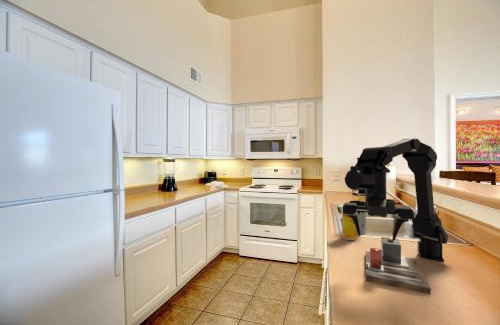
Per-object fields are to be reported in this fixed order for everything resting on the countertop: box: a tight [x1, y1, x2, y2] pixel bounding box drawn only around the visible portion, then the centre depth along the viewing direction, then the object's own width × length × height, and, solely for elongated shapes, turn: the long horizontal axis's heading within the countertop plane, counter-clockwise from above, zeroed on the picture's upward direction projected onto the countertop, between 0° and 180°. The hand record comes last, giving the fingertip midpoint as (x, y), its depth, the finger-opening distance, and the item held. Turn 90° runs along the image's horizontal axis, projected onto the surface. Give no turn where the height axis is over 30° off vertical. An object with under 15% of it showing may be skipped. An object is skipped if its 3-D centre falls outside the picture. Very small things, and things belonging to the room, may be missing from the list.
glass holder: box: [348, 200, 368, 235], centre depth 112 cm, size 9×14×15 cm, turn 172°
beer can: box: [341, 206, 357, 241], centre depth 103 cm, size 6×6×15 cm
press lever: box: [368, 247, 384, 273], centre depth 68 cm, size 4×4×7 cm
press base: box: [364, 250, 432, 295], centre depth 72 cm, size 15×21×3 cm
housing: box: [380, 236, 402, 264], centre depth 76 cm, size 5×7×7 cm
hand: (376, 238), depth 70 cm, fingers open, 9 cm apart
